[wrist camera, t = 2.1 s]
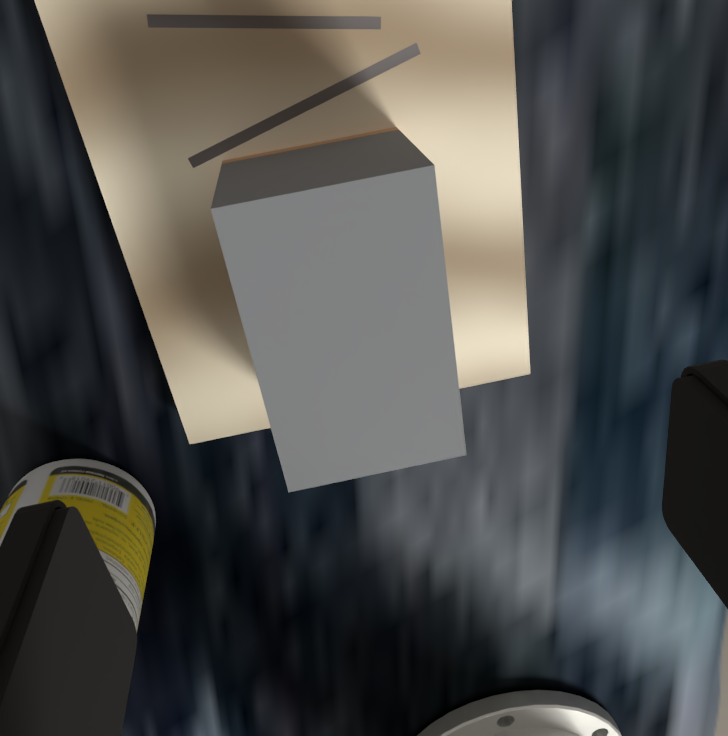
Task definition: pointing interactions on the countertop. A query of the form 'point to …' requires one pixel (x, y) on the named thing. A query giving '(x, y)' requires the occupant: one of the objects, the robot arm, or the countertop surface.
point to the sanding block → (344, 304)
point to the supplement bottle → (98, 516)
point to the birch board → (285, 130)
